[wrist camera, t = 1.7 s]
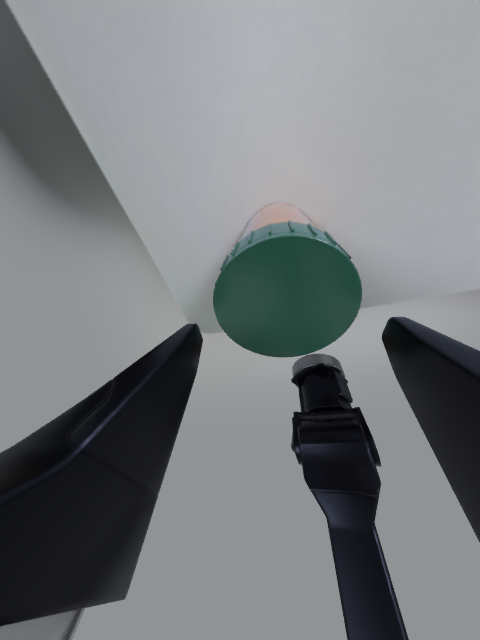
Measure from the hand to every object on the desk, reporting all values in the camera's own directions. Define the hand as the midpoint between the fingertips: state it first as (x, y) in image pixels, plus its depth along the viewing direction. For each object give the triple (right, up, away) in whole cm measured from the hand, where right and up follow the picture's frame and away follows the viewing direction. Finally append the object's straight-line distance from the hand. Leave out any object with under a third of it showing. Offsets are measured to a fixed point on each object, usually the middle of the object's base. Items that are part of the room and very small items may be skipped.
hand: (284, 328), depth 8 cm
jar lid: (0, +1, +1) cm, 2 cm away
